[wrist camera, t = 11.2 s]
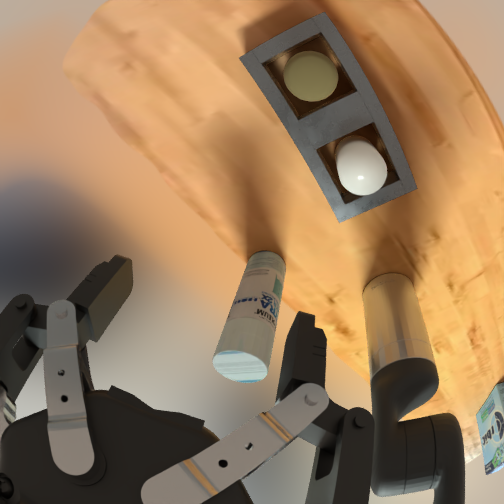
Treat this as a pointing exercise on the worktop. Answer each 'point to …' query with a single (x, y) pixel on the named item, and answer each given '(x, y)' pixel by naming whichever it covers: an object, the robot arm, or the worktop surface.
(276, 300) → the spray paint can
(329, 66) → the cork
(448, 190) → the worktop surface
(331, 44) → the cinder block
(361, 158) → the salt cellar
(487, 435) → the gum box
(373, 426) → the robot arm
